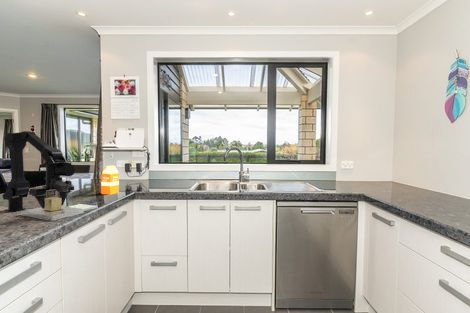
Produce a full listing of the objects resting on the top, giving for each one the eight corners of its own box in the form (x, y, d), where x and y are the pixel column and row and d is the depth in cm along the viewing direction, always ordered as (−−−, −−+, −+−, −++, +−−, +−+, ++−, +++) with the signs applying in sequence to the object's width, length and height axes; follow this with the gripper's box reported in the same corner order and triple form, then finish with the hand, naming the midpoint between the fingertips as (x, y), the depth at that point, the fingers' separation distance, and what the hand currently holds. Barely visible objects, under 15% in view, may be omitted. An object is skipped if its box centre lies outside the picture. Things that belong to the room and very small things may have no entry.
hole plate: (20, 215, 127) (20, 211, 127) (54, 208, 142) (54, 204, 142) (51, 220, 119) (51, 216, 119) (83, 213, 134) (83, 209, 134)
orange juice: (118, 192, 195) (119, 165, 194) (110, 194, 187) (110, 166, 186) (110, 191, 197) (110, 165, 197) (101, 193, 189) (101, 165, 188)
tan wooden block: (44, 214, 129) (44, 198, 129) (54, 212, 134) (54, 196, 133) (51, 215, 127) (51, 199, 127) (61, 213, 132) (61, 197, 132)
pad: (63, 209, 141) (63, 207, 141) (80, 205, 150) (80, 203, 150) (79, 211, 136) (79, 209, 136) (96, 207, 146) (96, 206, 146)
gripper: (44, 178, 118) (44, 212, 119) (82, 174, 136) (81, 204, 136) (28, 176, 122) (28, 210, 123) (66, 173, 140) (66, 202, 140)
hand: (52, 206), depth 130 cm, fingers open, 9 cm apart
